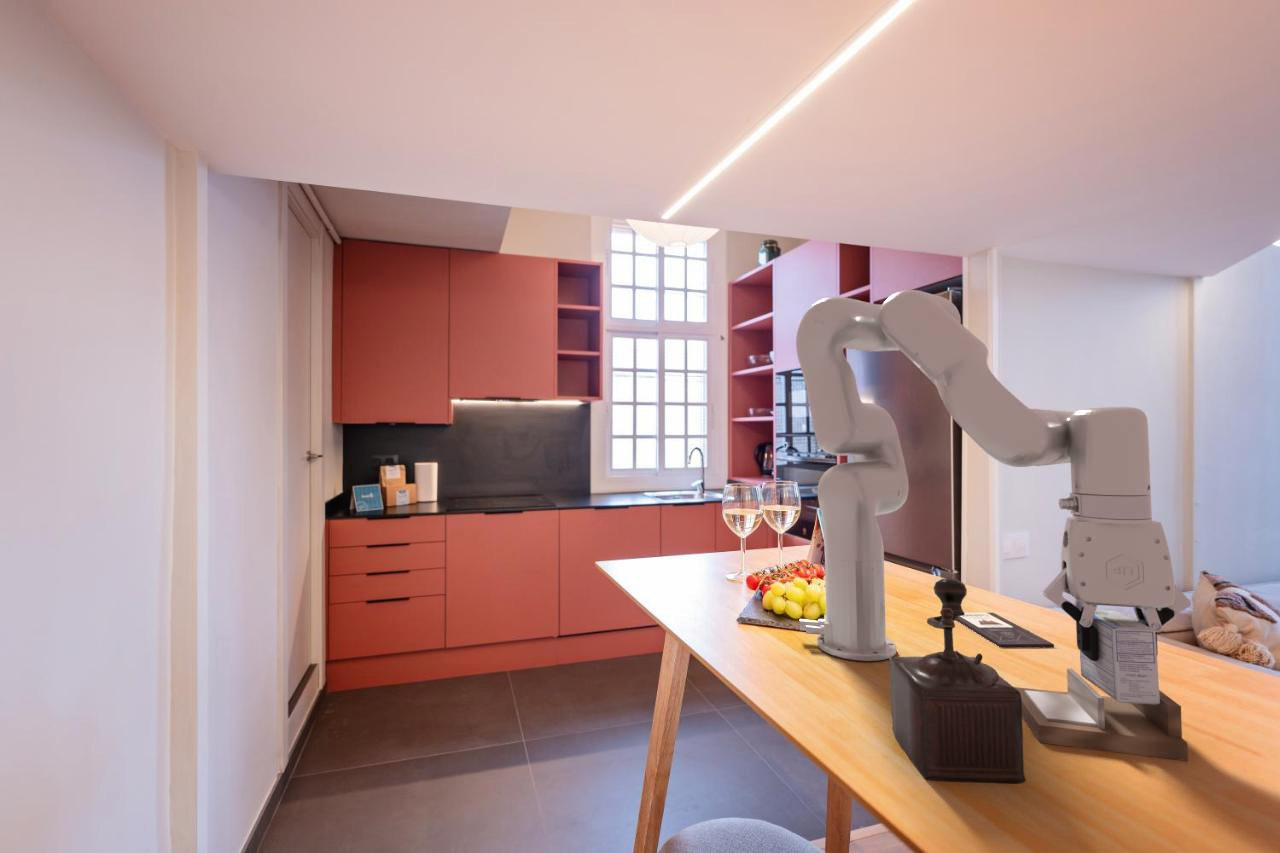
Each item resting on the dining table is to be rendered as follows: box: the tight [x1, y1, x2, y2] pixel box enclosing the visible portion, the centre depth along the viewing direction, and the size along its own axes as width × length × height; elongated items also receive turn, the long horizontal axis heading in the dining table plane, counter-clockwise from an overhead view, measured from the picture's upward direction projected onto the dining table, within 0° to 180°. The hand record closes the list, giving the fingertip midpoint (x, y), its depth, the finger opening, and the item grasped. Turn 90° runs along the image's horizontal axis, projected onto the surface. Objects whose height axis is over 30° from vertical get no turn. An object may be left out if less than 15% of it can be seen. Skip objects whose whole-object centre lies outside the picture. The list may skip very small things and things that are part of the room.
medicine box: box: [1079, 609, 1160, 705], centre depth 70 cm, size 8×4×9 cm, turn 168°
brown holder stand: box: [1013, 668, 1189, 762], centre depth 71 cm, size 14×11×6 cm
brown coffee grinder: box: [889, 578, 1026, 784], centre depth 68 cm, size 16×11×18 cm
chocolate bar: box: [955, 612, 1055, 649], centre depth 107 cm, size 9×1×18 cm
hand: (1116, 657), depth 70 cm, fingers closed on medicine box, 4 cm apart
